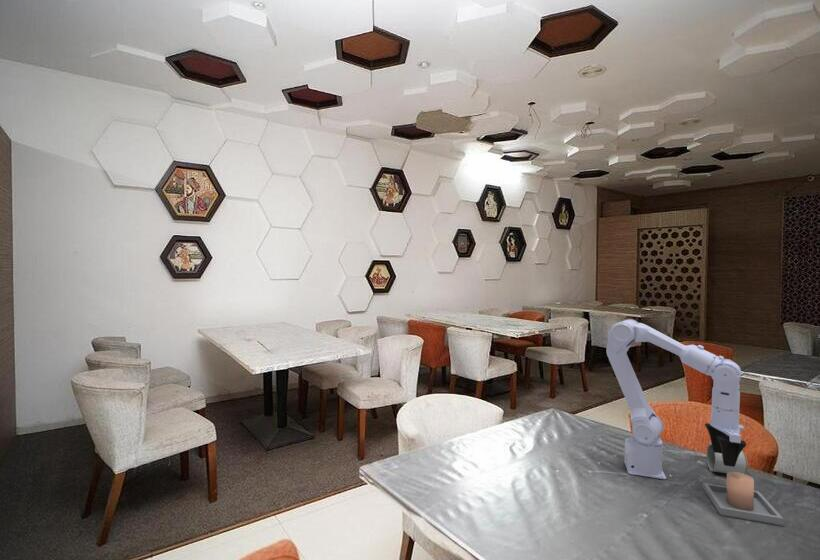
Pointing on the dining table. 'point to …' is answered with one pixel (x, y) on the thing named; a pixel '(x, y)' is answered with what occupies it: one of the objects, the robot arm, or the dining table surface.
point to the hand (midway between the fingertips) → (723, 458)
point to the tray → (759, 514)
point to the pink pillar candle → (740, 491)
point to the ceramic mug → (718, 466)
